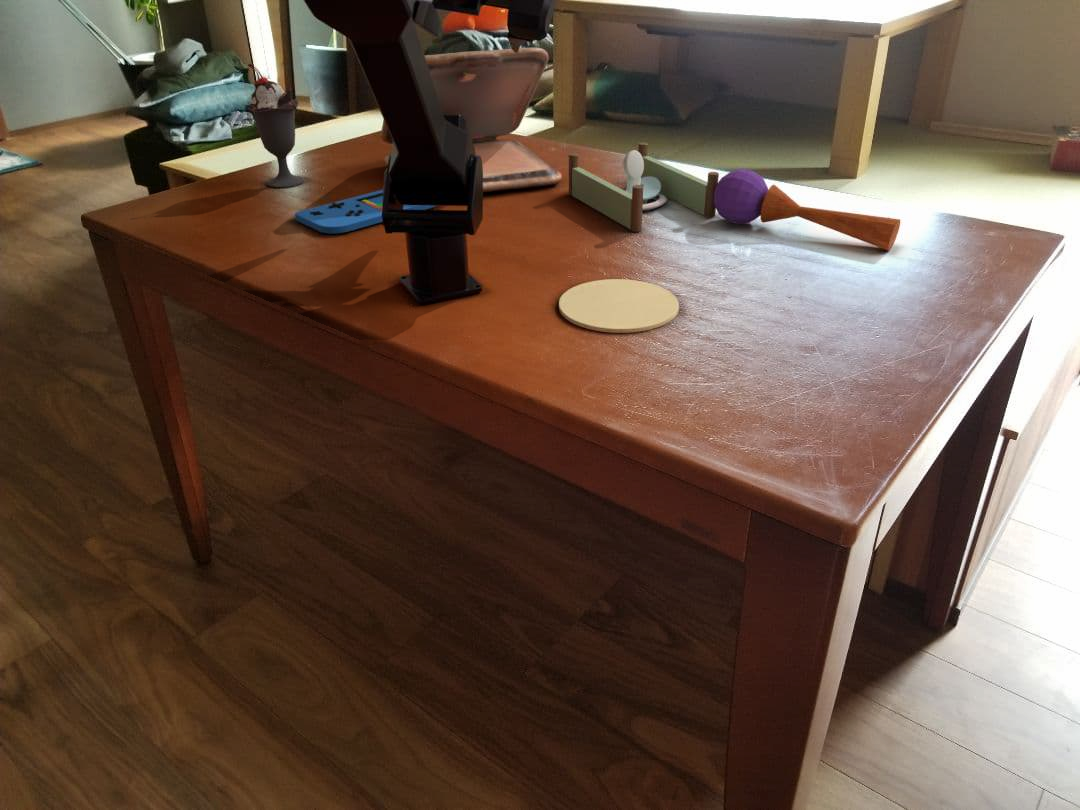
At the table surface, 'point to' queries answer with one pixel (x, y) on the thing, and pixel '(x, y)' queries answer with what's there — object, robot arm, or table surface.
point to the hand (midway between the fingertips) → (478, 42)
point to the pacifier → (642, 180)
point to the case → (493, 110)
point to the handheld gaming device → (348, 213)
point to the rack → (641, 190)
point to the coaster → (618, 305)
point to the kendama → (793, 209)
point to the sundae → (275, 125)
